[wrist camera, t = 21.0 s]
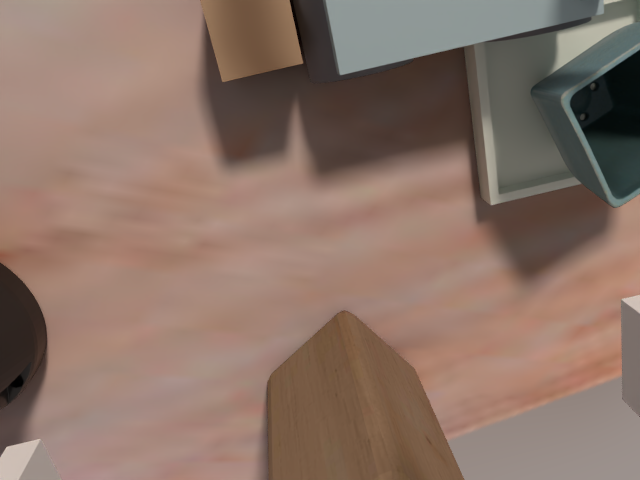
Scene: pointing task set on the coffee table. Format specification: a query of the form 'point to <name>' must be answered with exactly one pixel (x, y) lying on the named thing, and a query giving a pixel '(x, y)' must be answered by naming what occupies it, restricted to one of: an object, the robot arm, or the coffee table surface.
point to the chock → (251, 36)
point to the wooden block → (352, 412)
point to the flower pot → (598, 115)
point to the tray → (526, 104)
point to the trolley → (419, 29)
